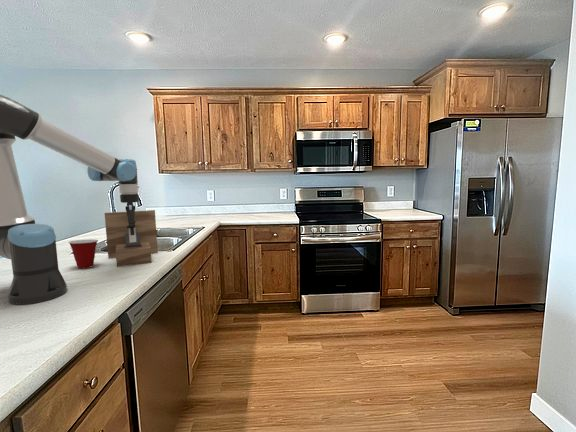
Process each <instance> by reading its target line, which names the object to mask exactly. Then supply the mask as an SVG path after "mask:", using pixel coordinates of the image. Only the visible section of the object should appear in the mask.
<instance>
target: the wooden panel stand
mask: <svg viewBox="0 0 576 432" xmlns="http://www.w3.org/2000/svg"><path fill="white" fill-rule="evenodd" d="M134 220H135V221H136V223H135V230H136V233H138V232H139V233H140V245H141V246H140V247H130V248H126V240H125V234H126V233H129V228H127V226H128V224H129V223H128V216H127V213H126V211H114V212H113V211H111V212H104V223H105V224H104V225H105V234H106V245H107V257H108V259H109V260H111V259H115V260H116V268H118V267H125V266H126V267H127V266H128V267H129V266H133V265H142V264H151V263H152V261H153V260H152V255H153V254H158V237H157V222H156V220H157V219H156V210H155V209H151V210H150V209H149V210H135V215H134Z"/></svg>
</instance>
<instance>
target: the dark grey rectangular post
mask: <svg viewBox="0 0 576 432" xmlns="http://www.w3.org/2000/svg"><path fill="white" fill-rule="evenodd" d="M125 240H126V248H130V247H140V246H141V245H140V233H139V232H138V233H136V242H131V243H130V241H129V233H126V234H125Z"/></svg>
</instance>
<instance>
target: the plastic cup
mask: <svg viewBox="0 0 576 432" xmlns="http://www.w3.org/2000/svg"><path fill="white" fill-rule="evenodd" d="M98 241H99V240H98V239H95V238H91V239H75V240H70V241H68V244H69V245H70V248H71V250H72V254H73V255H72V256H73V257H74V261H75V264H76V266H77V269H82V270H83V269H89V268H92V267H94V264H95V258H96V256H95V255H96V249H97V244H98Z"/></svg>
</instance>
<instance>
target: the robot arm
mask: <svg viewBox="0 0 576 432" xmlns="http://www.w3.org/2000/svg"><path fill="white" fill-rule="evenodd" d="M16 137H17V138H19V139H20V140H23V141H24V140H31V141H33V142H35V143H38V144H40V145H41V146H43V147H45V148H48V149H50V150H52V151H55V152H56V153H58V154H61V155H62V156H65V157H67V158H69V159H70V160H71V159H72V160H74V161H76V162H78V163H80V164H82V165H85V166H86V167H87V176H88V179H90V180H91V181H92V182H93V181H94V182H118V187H119V188H118V189H119V193H120V194H119V198H120V199H119V200H120V203H123V204H125V203H126V206H125V208H124V209H125V212H126V213H127V216H128V223H129V224H128V226H127V228H129V241H130V243H131V242H136V230H135V223H136V221H135V220H134V215H135V211H136V205H134V203H138V202H140V196H139V194H138V193H139V188H140V185H139V184H138V168H137V167H138V165H137V162H136V160H135V159H132V158H119V159H118V158H116V157H114V156H113V155H110V154H109V153H107V152H104V151H103V150H101V149H99V148H97V147H95V146H94V145H91V144H89V143H88V142H86V141H84V140H82V139H80V138H79V137H77V136H75V135H73V134H71V133H70V132H67V131H65V130H63V129H61V128H59V127H57V126H56V125H54V124H52V123H50V122H48V121H46V120H44V119H43V118H42V116H41V114H40V113H38V112H37V111H34V110H33V109H31V108H30V107H27V106H25V105H23V104H22V103H19V102H18V101H16V100H14V99H11V98H10V97H8V96H5V95H2V94H0V257H2V258H5V259H8V260H10V261H11V268H12V281H11V284H10V287H9V290H8V296H7V298H8V303H9V304H13V305H30V304H36V303H42V302H46V301H49V300H52V299H55V298H58V297H60V296H62V295H65V294H66V293H67V292H68V286H67V283H66V280H65V279H64V277H63V274H62V273H61V272H60V269H59V260H58V252H57V251H58V250H57V242H56V239H57V236H56V233H55V229H54V228H53V227H52V226H51V225H48V224H44V223H43V224H41V223H36V220H35V218H34V217H32V216H31V215H29V214H28V210H27V206H26V201H25V199H24V198H25V197H24V193H23V189H22V186H21V181H20V178H19V172H18V169H17V164H16V161H15V156H14V152H13V147H12V146H13V145H14V143H15V142H16V141H17V139H16Z"/></svg>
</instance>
